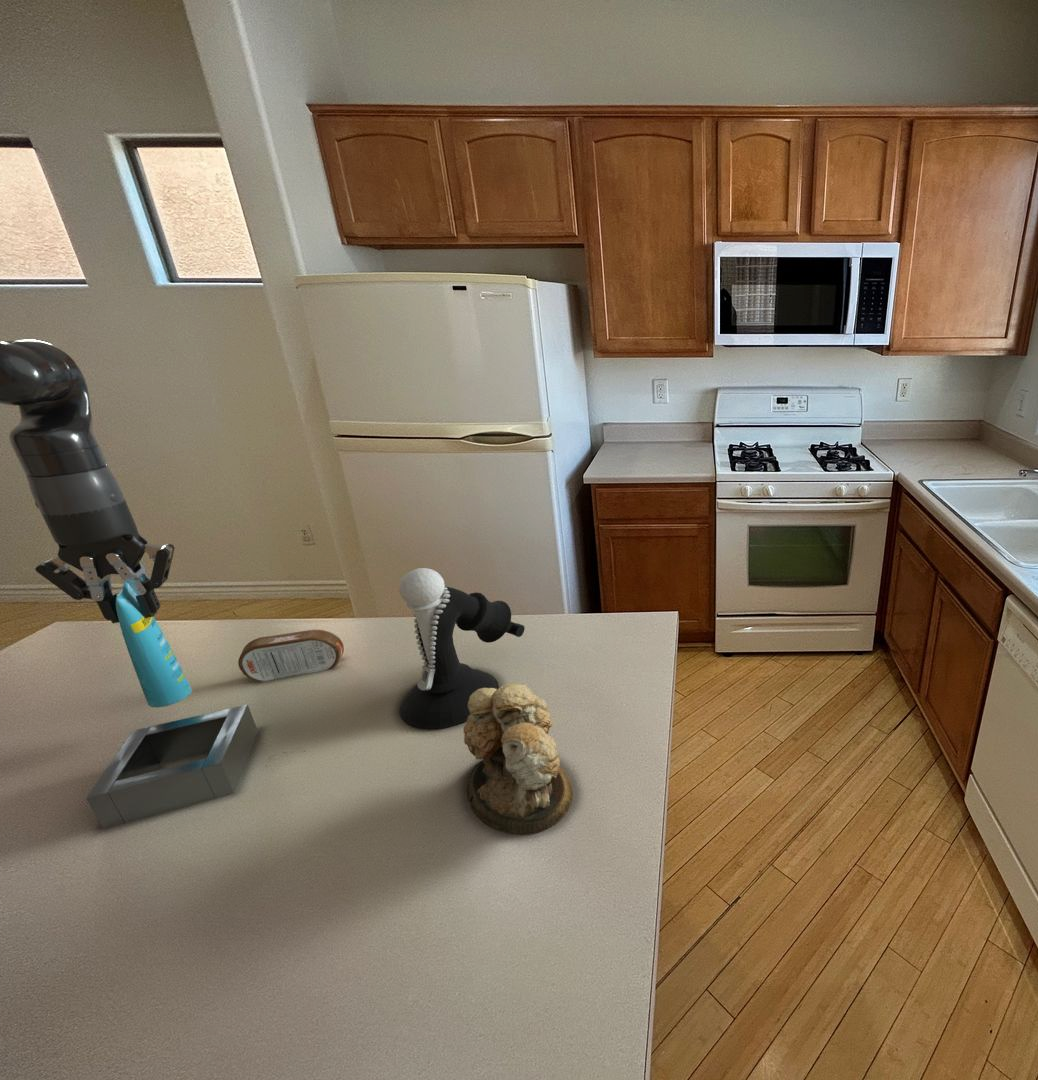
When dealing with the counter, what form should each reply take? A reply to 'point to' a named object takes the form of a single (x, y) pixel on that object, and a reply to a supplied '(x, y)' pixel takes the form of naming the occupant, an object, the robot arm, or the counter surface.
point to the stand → (147, 792)
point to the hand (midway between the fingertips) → (135, 617)
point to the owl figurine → (514, 761)
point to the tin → (290, 654)
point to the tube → (150, 653)
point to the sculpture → (448, 648)
